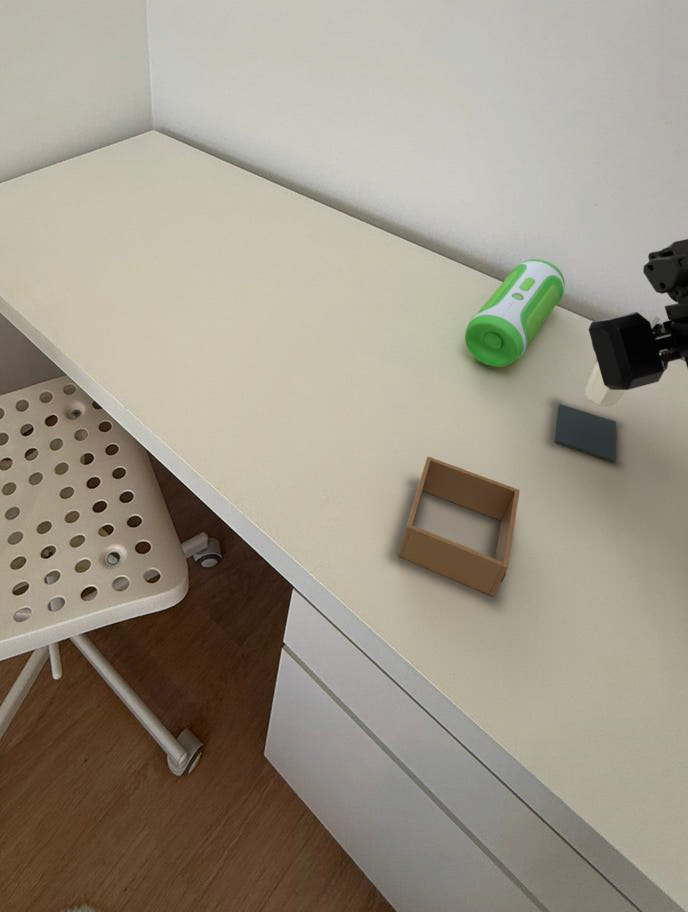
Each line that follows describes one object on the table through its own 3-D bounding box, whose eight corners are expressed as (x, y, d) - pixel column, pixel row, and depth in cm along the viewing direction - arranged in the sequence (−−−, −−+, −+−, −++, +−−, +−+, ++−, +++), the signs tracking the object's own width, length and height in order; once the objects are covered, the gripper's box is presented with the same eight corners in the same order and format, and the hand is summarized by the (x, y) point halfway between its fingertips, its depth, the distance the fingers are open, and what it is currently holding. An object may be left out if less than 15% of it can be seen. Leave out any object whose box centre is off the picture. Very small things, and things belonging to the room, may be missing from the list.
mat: (614, 423, 77) (616, 421, 77) (613, 462, 73) (615, 460, 73) (558, 405, 79) (559, 403, 79) (554, 442, 75) (555, 440, 75)
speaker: (510, 381, 83) (528, 336, 78) (454, 354, 86) (468, 310, 82) (558, 311, 93) (576, 267, 89) (506, 289, 97) (521, 247, 92)
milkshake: (639, 402, 71) (679, 331, 65) (603, 417, 69) (640, 346, 63) (604, 373, 74) (638, 304, 68) (568, 387, 73) (600, 317, 67)
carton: (506, 519, 67) (520, 490, 64) (494, 597, 61) (509, 568, 58) (418, 485, 71) (427, 455, 68) (397, 555, 64) (406, 526, 61)
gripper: (823, 214, 57) (665, 250, 72) (647, 252, 53) (518, 281, 68) (866, 343, 56) (696, 352, 71) (689, 392, 51) (548, 390, 66)
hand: (616, 341), depth 69 cm, fingers closed on milkshake, 5 cm apart
